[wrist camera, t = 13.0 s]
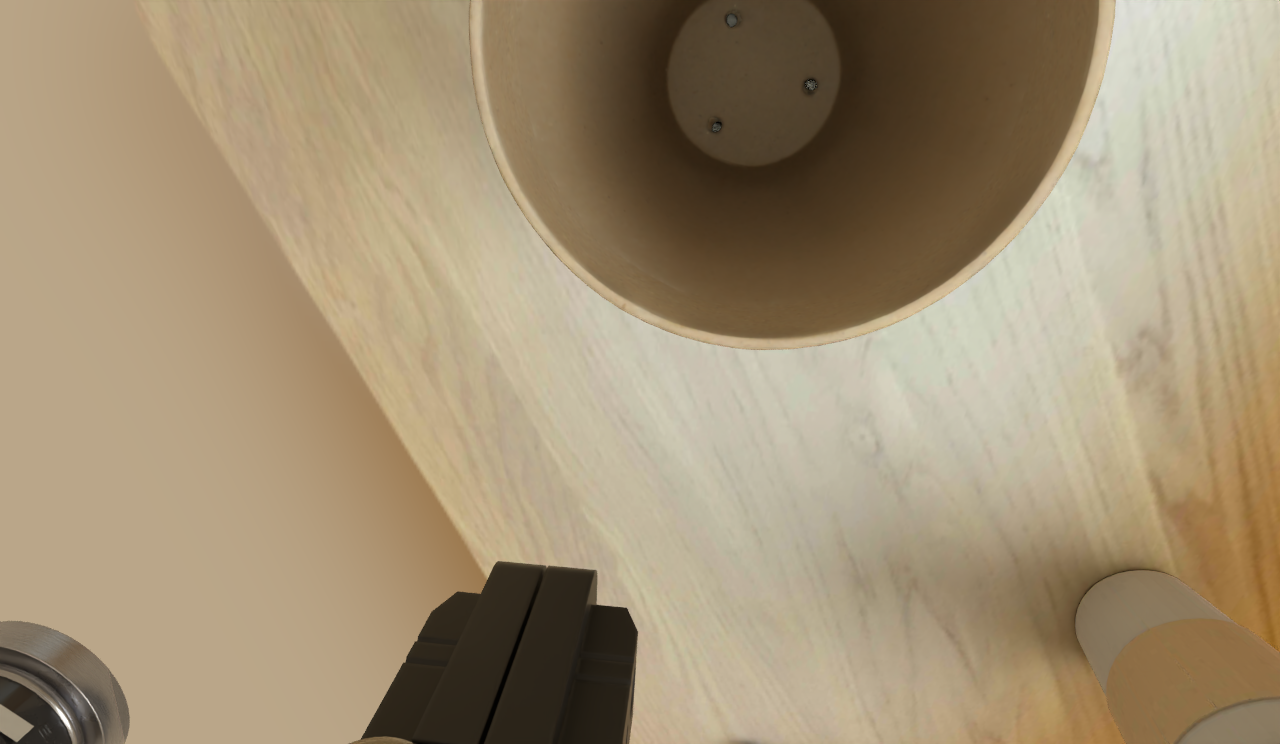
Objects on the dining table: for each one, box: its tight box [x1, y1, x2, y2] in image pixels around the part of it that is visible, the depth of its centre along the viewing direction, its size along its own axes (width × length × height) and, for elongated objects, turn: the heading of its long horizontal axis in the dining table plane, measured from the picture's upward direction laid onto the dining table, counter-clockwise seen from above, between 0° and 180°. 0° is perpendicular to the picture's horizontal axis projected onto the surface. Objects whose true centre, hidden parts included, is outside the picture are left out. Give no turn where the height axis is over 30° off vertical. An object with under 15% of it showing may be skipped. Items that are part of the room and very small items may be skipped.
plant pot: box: [469, 0, 1115, 350], centre depth 26 cm, size 15×15×16 cm
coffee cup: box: [1075, 570, 1280, 744], centre depth 33 cm, size 9×9×15 cm
